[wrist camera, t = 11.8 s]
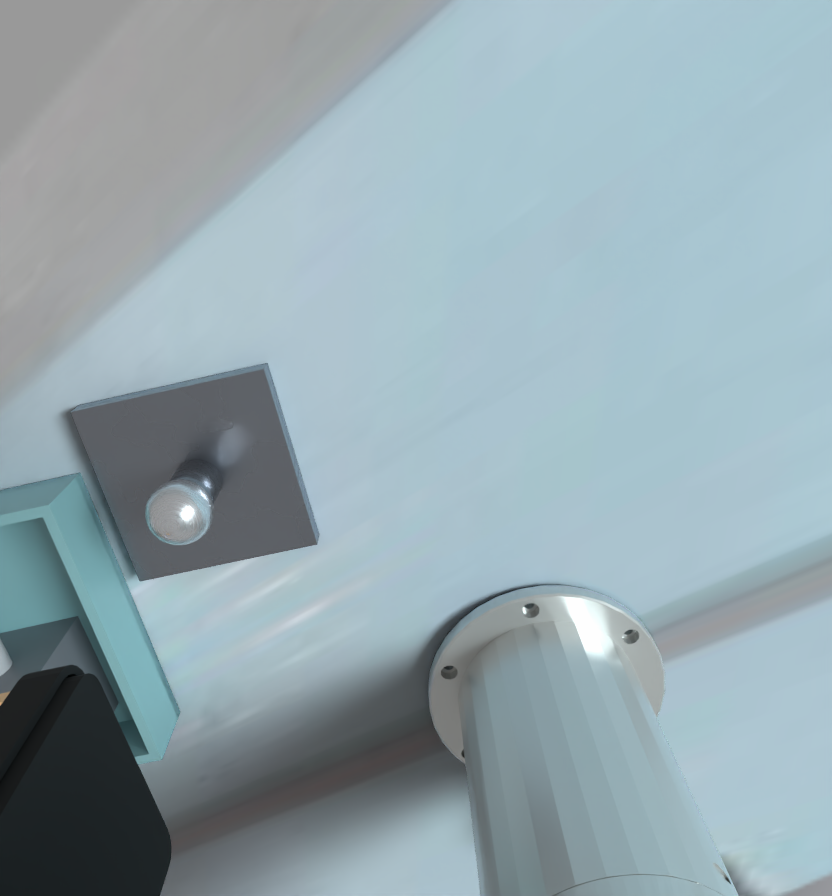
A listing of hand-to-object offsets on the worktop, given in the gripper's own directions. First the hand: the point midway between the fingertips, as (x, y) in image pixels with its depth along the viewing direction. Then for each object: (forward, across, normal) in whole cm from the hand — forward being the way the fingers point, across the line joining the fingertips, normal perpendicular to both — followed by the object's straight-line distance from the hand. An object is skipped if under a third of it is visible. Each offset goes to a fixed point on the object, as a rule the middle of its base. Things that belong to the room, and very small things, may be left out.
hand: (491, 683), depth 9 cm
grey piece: (+26, +12, +6) cm, 30 cm away
